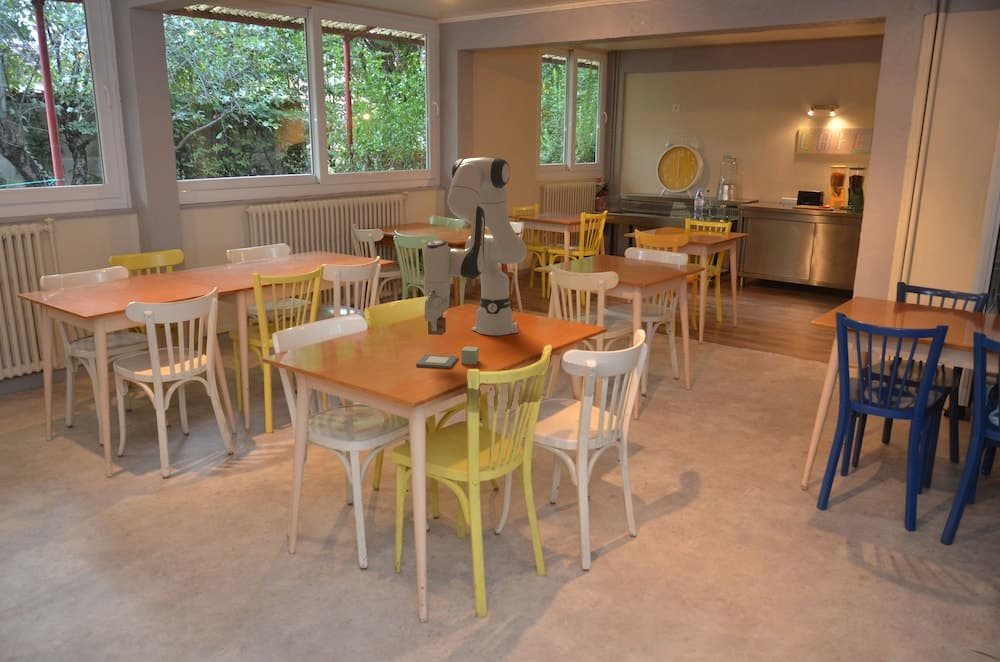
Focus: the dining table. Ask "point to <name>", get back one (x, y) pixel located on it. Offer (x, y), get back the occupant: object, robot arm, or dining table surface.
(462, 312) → the dining table surface
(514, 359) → the dining table surface
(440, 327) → the walnut block
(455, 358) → the base plate
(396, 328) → the dining table surface
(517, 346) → the dining table surface
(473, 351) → the sage block
